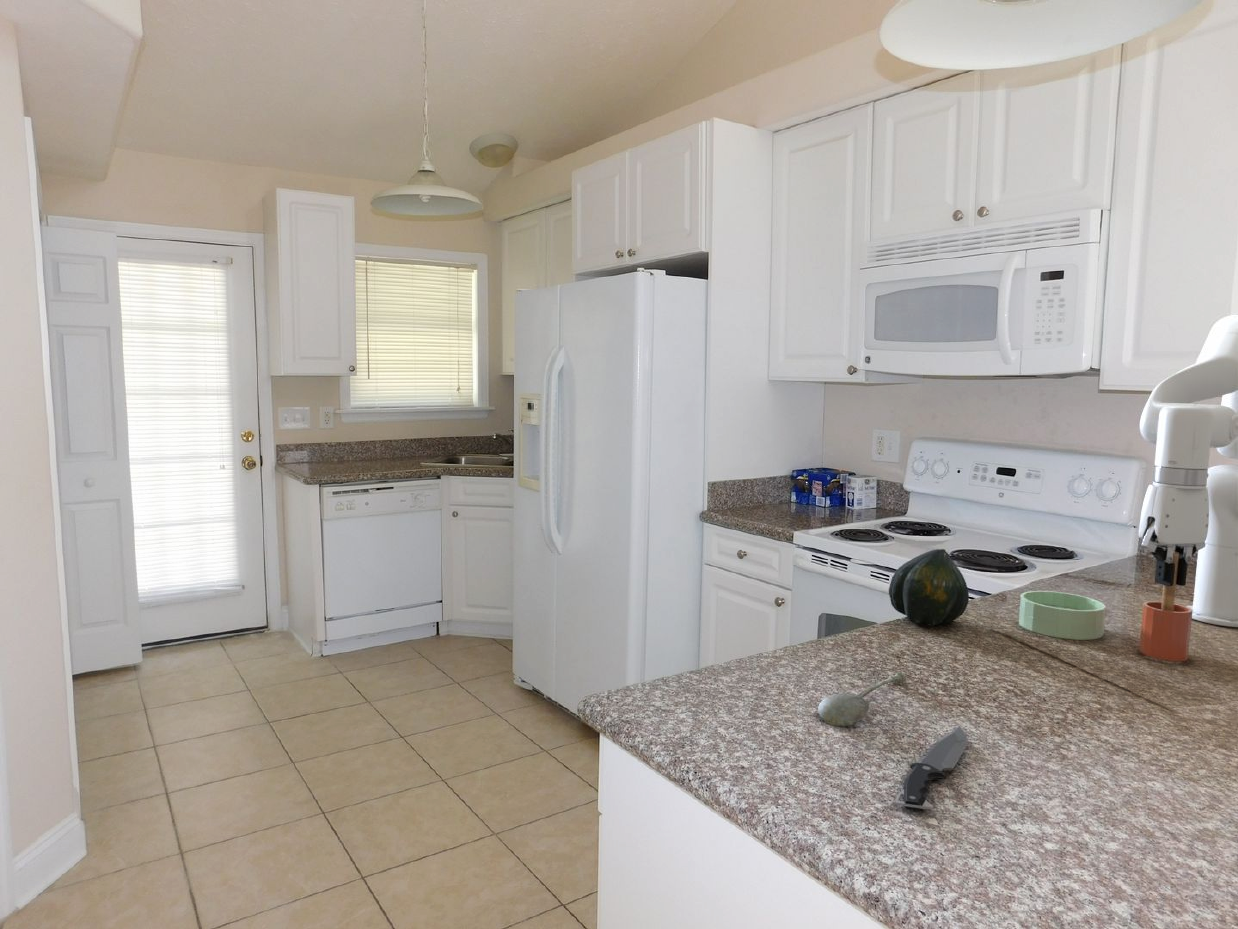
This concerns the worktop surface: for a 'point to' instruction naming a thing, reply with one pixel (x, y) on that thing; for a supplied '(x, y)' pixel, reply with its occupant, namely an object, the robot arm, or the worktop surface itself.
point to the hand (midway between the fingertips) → (1169, 583)
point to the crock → (1165, 632)
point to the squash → (929, 589)
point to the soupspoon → (850, 704)
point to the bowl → (1062, 615)
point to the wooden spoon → (1170, 588)
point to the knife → (931, 769)
